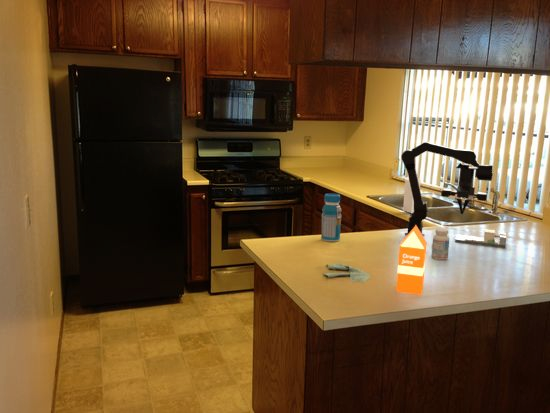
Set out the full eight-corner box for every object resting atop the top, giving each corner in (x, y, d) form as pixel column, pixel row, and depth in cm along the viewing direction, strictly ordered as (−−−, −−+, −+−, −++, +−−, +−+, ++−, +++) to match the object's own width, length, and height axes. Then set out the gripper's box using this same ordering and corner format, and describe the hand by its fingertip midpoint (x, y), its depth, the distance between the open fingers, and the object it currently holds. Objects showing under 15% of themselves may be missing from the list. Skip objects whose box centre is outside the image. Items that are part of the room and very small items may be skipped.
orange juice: (395, 291, 155) (400, 229, 151) (399, 282, 163) (403, 223, 159) (421, 294, 152) (426, 231, 148) (423, 285, 160) (428, 225, 157)
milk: (411, 214, 274) (414, 174, 269) (402, 212, 278) (405, 173, 274) (418, 213, 277) (421, 174, 273) (409, 211, 282) (412, 172, 278)
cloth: (372, 286, 161) (372, 279, 160) (305, 281, 164) (305, 274, 164) (371, 267, 180) (372, 261, 180) (311, 263, 184) (312, 256, 184)
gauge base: (455, 242, 216) (455, 232, 215) (456, 236, 225) (457, 227, 224) (505, 247, 208) (506, 237, 207) (505, 242, 217) (506, 232, 216)
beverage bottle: (324, 242, 211) (326, 196, 207) (318, 237, 219) (320, 193, 215) (342, 241, 212) (345, 196, 209) (336, 236, 220) (338, 192, 217)
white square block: (483, 242, 211) (484, 232, 210) (484, 237, 218) (485, 229, 217) (504, 244, 208) (505, 235, 207) (504, 240, 215) (505, 231, 214)
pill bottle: (442, 255, 195) (445, 227, 193) (450, 260, 189) (453, 231, 187) (428, 255, 194) (430, 228, 192) (436, 260, 188) (438, 231, 186)
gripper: (441, 179, 212) (437, 214, 215) (488, 183, 205) (483, 220, 208) (444, 176, 222) (440, 210, 225) (489, 180, 215) (484, 215, 218)
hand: (461, 213), depth 219 cm, fingers closed
